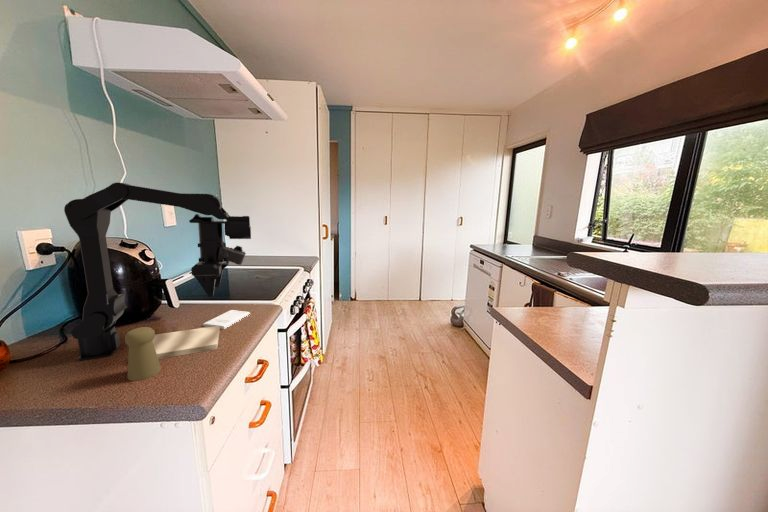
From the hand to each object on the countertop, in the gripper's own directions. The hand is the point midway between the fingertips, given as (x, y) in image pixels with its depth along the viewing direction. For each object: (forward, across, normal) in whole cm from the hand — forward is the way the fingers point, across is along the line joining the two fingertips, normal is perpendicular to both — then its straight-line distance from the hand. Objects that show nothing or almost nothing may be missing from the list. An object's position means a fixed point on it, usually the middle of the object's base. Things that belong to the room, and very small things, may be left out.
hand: (214, 291), depth 81 cm
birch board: (+14, -3, +8) cm, 17 cm away
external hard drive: (+15, +13, -1) cm, 20 cm away
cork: (+15, -15, +12) cm, 24 cm away
